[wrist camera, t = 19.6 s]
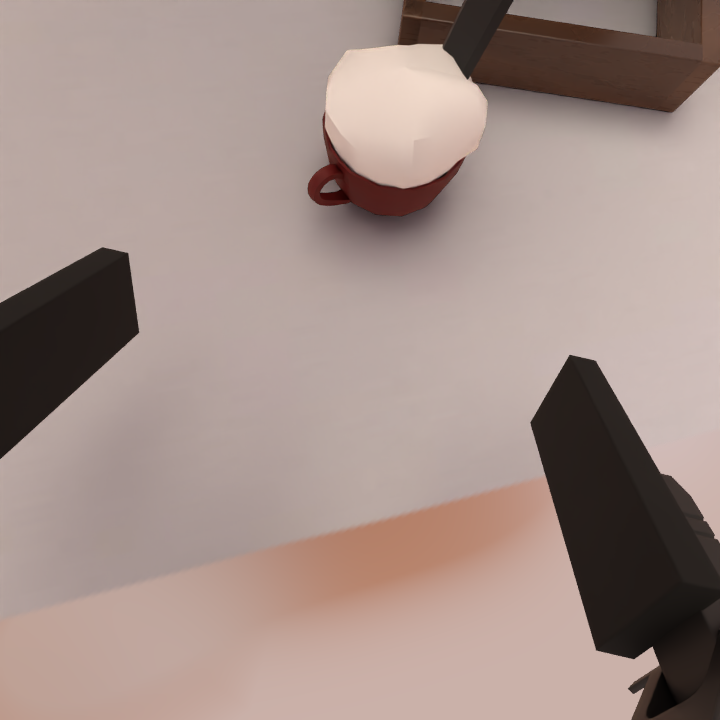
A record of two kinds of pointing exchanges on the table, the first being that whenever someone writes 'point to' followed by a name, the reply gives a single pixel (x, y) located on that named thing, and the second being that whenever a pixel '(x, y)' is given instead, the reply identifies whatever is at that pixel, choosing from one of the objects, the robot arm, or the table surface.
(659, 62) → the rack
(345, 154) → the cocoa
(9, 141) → the table surface
